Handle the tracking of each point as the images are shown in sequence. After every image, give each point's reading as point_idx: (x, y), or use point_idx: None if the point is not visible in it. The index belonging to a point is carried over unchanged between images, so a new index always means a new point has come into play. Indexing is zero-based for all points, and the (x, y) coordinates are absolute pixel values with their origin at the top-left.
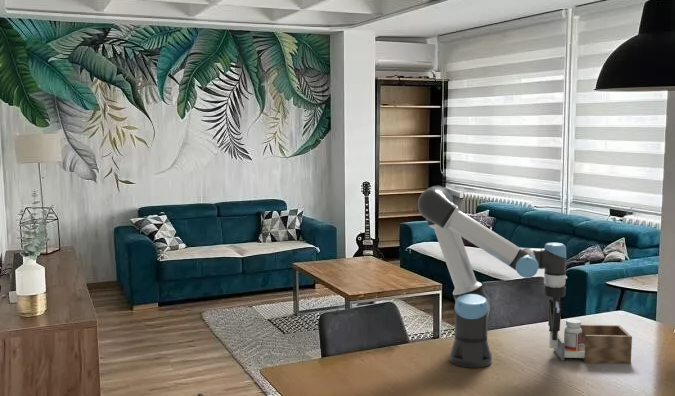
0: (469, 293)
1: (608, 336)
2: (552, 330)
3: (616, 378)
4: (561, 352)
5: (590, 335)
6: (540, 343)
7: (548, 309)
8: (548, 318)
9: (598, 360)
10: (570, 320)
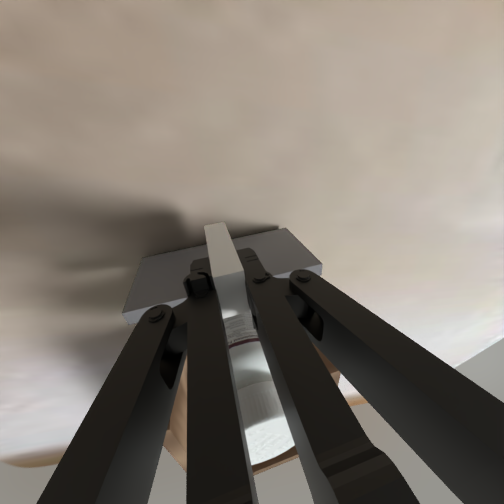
0: None
1: (185, 468)
2: (150, 309)
3: (43, 397)
4: (140, 275)
5: (167, 442)
6: (361, 178)
7: (460, 405)
8: (349, 306)
9: None
10: (277, 430)
